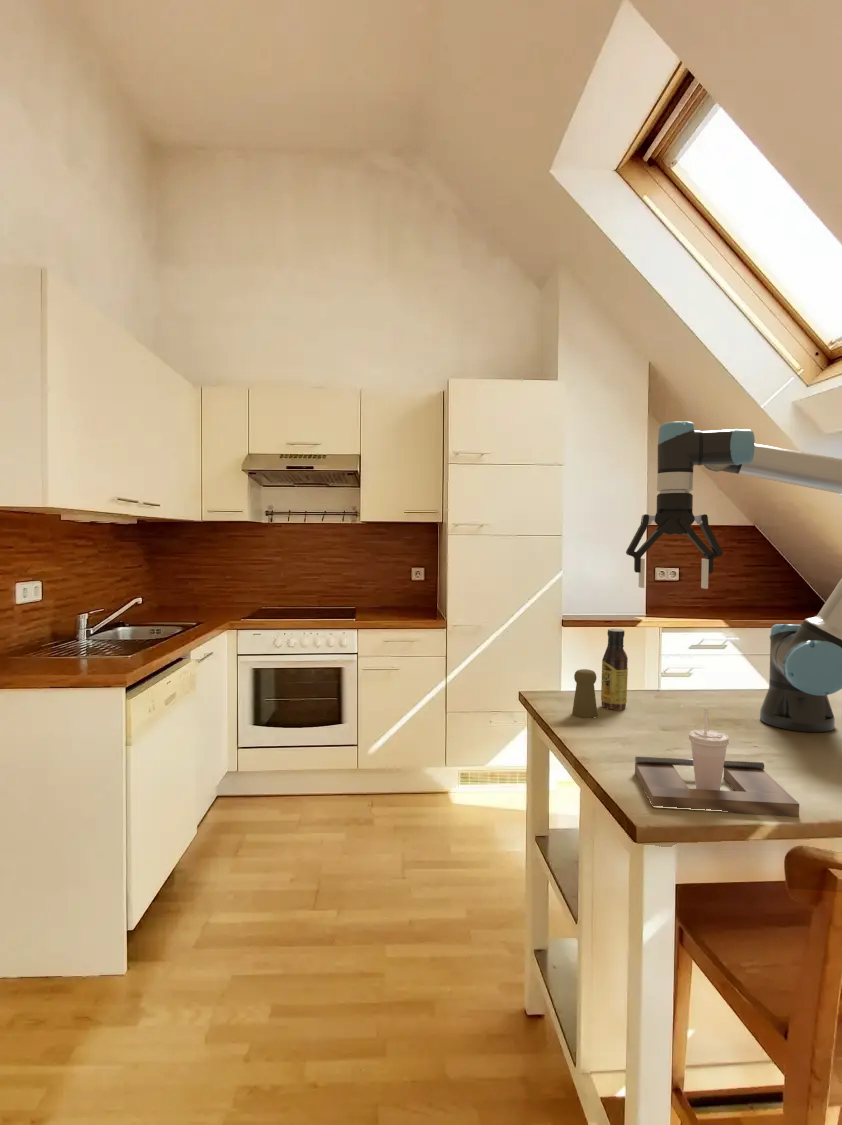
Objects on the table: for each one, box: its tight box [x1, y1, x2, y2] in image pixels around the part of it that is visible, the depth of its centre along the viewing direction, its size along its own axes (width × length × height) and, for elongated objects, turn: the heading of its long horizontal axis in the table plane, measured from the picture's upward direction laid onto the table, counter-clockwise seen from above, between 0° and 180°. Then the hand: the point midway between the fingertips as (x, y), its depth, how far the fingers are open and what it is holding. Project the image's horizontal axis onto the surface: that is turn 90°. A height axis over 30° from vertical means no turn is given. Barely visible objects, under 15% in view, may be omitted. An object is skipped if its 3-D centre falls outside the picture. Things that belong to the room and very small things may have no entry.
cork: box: [571, 668, 598, 719], centre depth 164 cm, size 6×6×11 cm
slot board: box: [634, 762, 800, 817], centre depth 115 cm, size 22×16×2 cm
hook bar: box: [634, 756, 765, 771], centre depth 122 cm, size 22×1×1 cm, turn 82°
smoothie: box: [688, 708, 730, 790], centre depth 116 cm, size 6×6×14 cm
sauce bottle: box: [600, 628, 629, 710], centre depth 170 cm, size 7×6×20 cm
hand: (672, 588), depth 152 cm, fingers open, 13 cm apart
